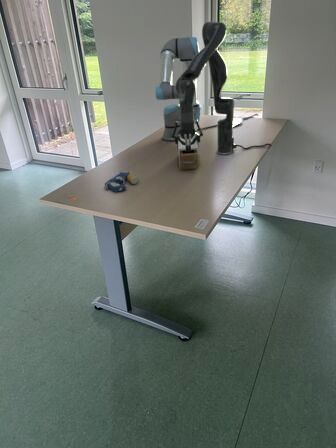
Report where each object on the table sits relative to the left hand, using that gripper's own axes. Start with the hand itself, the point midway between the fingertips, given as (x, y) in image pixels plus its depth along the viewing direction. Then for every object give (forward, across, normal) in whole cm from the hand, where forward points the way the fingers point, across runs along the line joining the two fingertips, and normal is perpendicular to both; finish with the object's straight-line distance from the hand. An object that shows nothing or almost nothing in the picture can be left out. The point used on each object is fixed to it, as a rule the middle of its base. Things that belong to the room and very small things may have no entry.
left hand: (187, 148), depth 207 cm
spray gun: (+7, -37, -35) cm, 51 cm away
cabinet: (+7, 0, -5) cm, 8 cm away
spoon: (+6, +36, +62) cm, 72 cm away
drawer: (+6, 0, -15) cm, 16 cm away
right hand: (-6, 0, -24) cm, 24 cm away
